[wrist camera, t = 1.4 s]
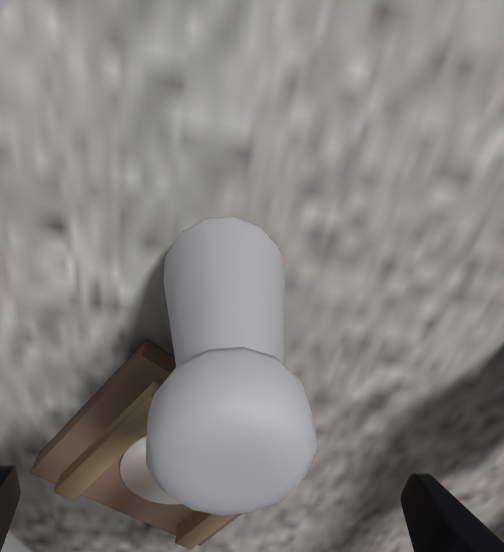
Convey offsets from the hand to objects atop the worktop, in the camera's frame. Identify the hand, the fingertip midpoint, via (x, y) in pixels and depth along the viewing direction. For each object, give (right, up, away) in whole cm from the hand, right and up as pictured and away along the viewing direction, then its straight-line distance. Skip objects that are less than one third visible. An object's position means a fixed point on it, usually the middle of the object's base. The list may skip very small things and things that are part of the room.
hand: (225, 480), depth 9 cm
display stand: (-5, -7, +18) cm, 20 cm away
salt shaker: (-1, +6, +12) cm, 13 cm away
